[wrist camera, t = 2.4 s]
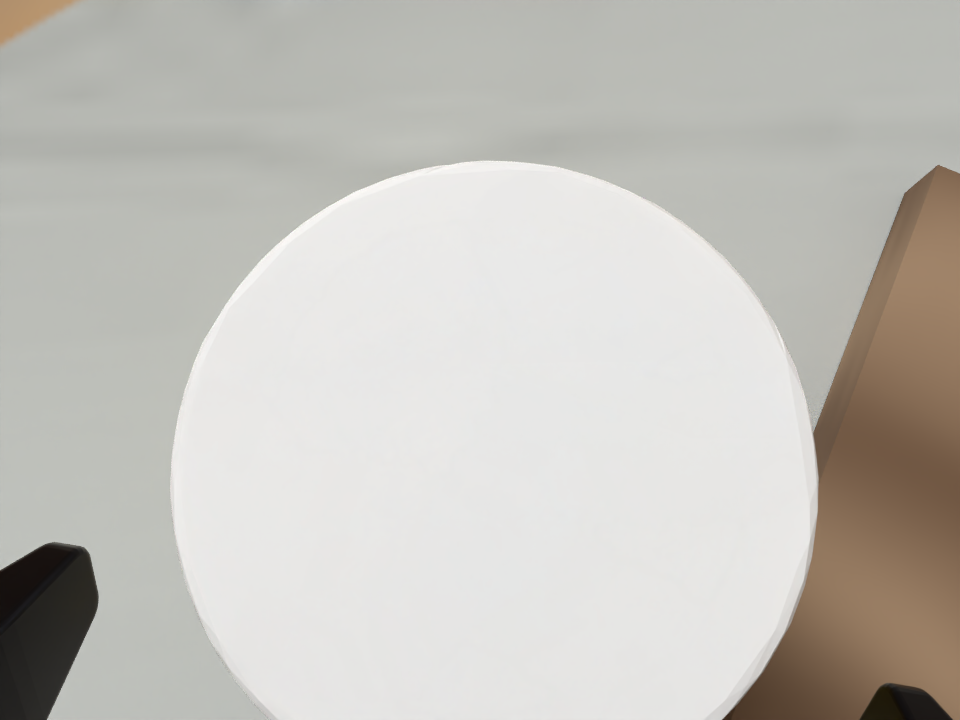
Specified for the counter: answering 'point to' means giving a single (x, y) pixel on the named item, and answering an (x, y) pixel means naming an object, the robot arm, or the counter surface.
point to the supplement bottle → (494, 461)
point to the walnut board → (885, 490)
